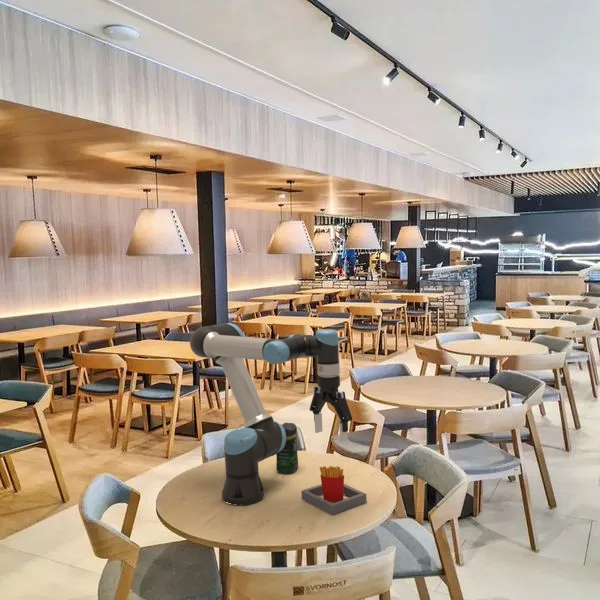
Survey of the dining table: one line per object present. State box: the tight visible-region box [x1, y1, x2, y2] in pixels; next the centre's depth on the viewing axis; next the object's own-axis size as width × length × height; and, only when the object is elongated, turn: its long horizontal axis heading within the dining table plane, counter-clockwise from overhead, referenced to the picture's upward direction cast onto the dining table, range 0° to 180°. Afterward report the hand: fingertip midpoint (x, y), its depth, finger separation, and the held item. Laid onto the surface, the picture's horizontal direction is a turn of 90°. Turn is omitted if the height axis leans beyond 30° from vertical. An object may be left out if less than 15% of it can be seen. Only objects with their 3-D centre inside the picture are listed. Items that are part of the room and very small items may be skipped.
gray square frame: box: [301, 483, 367, 516], centre depth 200 cm, size 17×15×3 cm
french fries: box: [319, 465, 345, 503], centre depth 200 cm, size 8×4×12 cm, turn 72°
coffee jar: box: [275, 422, 299, 475], centre depth 231 cm, size 10×8×19 cm
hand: (331, 436), depth 199 cm, fingers open, 13 cm apart
